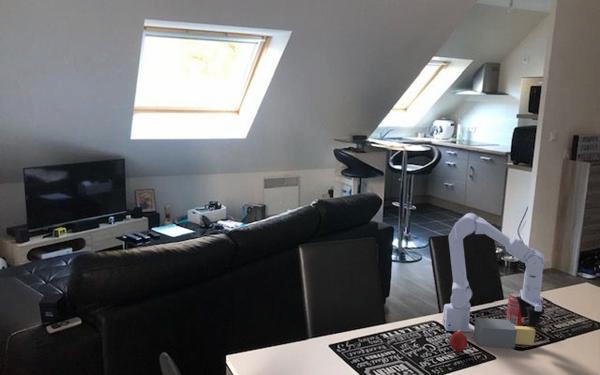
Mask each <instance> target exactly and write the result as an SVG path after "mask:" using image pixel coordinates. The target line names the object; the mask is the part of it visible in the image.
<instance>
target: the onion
mask: <svg viewBox="0 0 600 375" xmlns="http://www.w3.org/2000/svg"><path fill="white" fill-rule="evenodd" d="M449 346H450V347H451V348H452V349H453V350H454V351H455V352H457V353H460V352H462V351H464V350H465V349H466V348H467V347H468V339H467V337H466V335H465V334H464V333H463V332H462V331H461V330H459V331H454V332H453V333H452V334H451V335H450V338H449Z"/></svg>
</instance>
